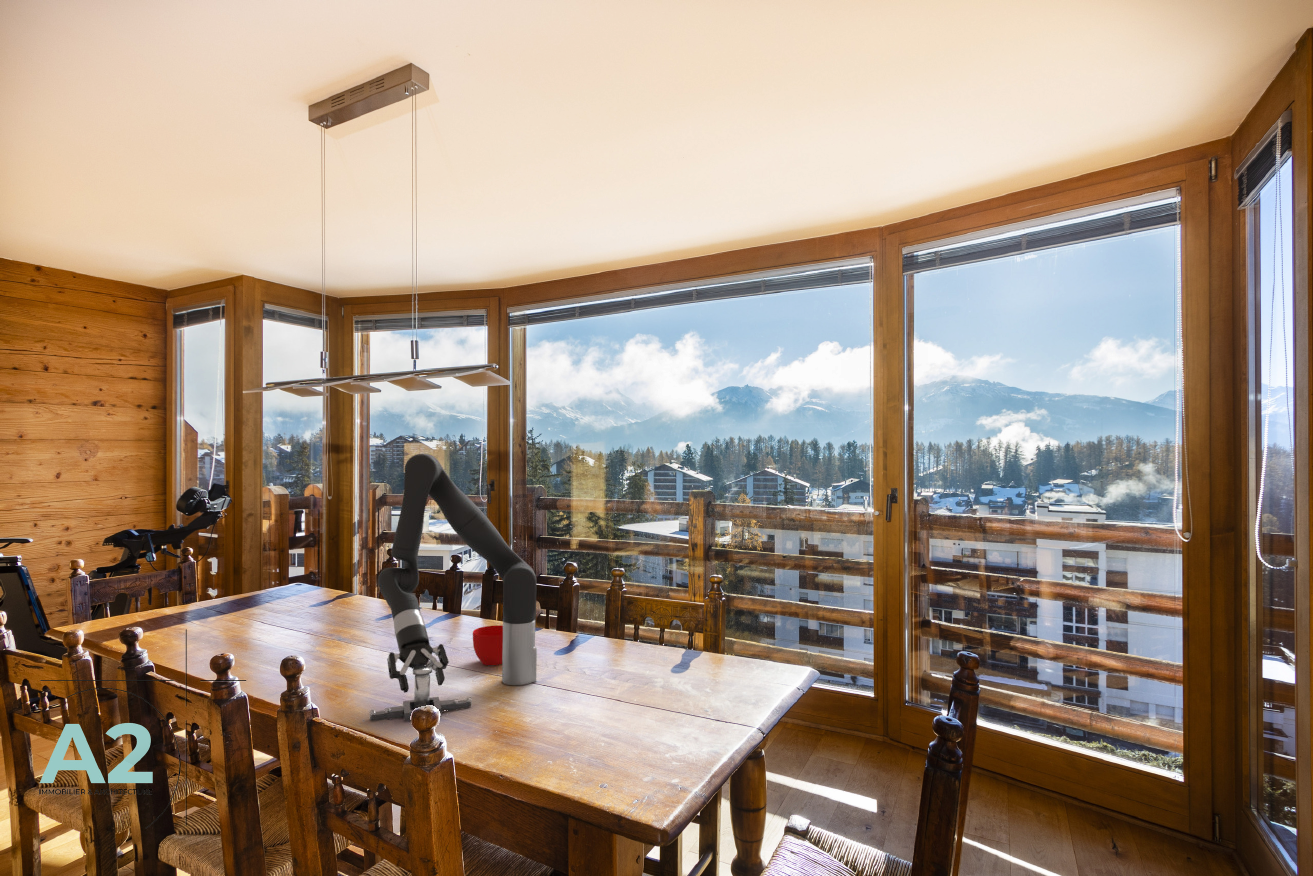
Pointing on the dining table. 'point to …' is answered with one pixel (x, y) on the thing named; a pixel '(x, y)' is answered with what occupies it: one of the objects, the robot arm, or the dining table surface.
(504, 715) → the dining table surface
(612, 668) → the dining table surface
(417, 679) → the pin
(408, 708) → the tap wrench handle
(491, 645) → the ceramic cup
